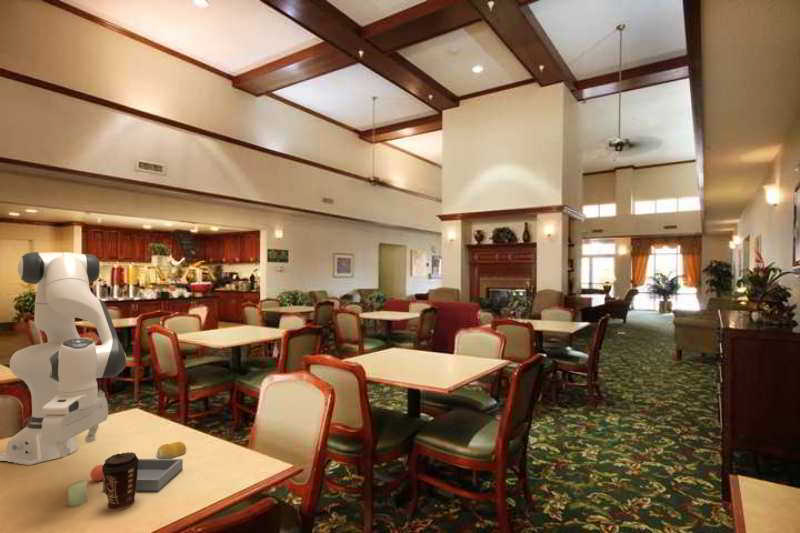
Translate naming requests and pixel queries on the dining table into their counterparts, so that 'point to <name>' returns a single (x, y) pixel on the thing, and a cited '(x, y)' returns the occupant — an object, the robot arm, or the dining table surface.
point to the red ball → (97, 473)
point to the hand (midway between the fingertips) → (78, 448)
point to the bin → (155, 473)
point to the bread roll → (171, 450)
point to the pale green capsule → (77, 494)
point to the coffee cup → (120, 480)
